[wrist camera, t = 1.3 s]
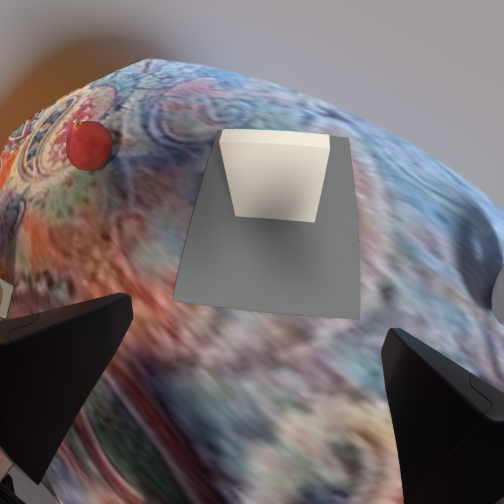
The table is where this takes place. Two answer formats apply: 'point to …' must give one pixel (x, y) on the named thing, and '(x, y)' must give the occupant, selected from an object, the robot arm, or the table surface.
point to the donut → (498, 297)
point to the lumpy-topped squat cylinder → (30, 489)
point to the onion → (88, 145)
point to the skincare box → (5, 297)
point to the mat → (274, 249)
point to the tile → (275, 172)
